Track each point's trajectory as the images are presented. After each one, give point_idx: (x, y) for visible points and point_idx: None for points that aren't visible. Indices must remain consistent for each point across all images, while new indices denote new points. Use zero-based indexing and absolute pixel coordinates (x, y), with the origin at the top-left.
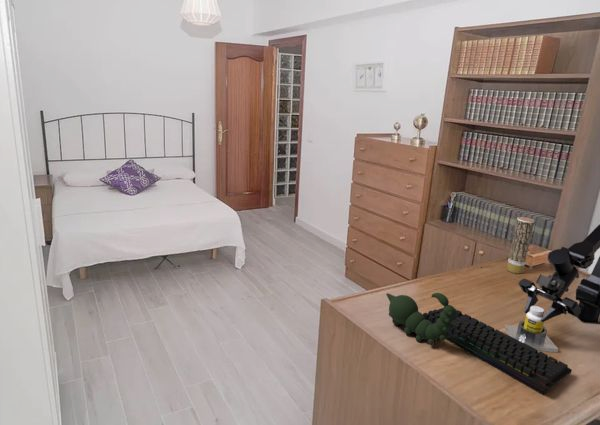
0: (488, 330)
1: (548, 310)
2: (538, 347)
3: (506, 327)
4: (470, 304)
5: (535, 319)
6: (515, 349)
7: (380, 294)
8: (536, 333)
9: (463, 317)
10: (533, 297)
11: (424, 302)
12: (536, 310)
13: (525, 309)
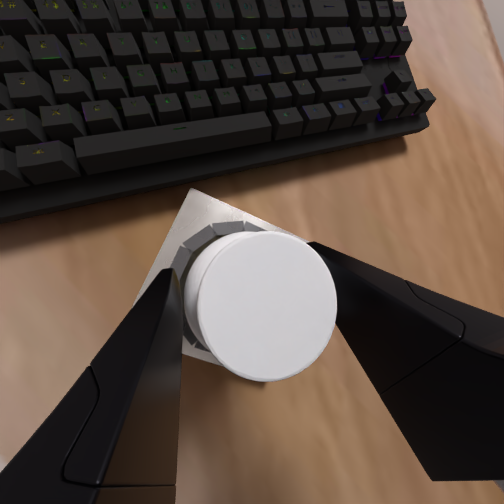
0: (273, 97)
1: (129, 383)
2: (159, 253)
3: (303, 239)
4: (440, 245)
5: (209, 247)
6: (133, 91)
7: (484, 51)
8: (182, 255)
9: (361, 82)
10: (484, 386)
11: (452, 122)
12: (241, 255)
13: (324, 247)
